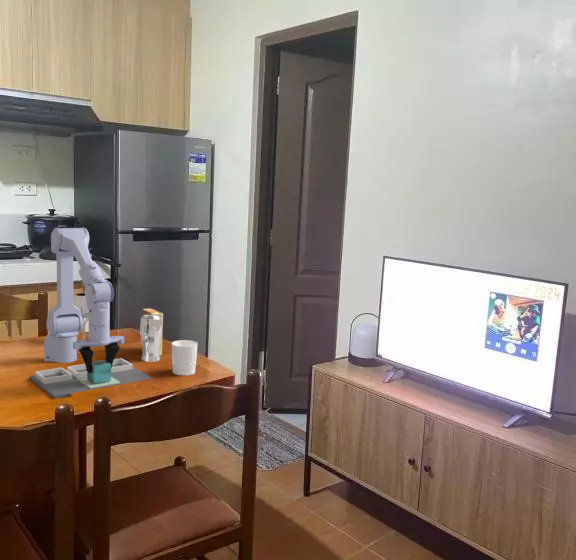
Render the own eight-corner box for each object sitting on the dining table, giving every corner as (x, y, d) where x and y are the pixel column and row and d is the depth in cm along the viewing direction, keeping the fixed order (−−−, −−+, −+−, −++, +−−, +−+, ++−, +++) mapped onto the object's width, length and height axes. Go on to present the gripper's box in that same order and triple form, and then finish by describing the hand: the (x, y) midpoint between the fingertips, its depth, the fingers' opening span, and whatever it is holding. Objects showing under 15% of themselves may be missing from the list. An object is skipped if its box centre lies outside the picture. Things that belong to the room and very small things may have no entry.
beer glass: (156, 365, 197) (156, 320, 194) (136, 363, 198) (136, 318, 196) (164, 359, 204) (165, 315, 201) (145, 357, 205) (145, 314, 203)
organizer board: (29, 378, 178) (29, 370, 178) (122, 363, 197) (122, 356, 197) (54, 398, 163) (54, 390, 163) (152, 380, 182) (152, 373, 181)
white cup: (174, 370, 193) (174, 339, 191) (198, 371, 193) (199, 340, 191) (168, 377, 185) (169, 345, 184) (194, 379, 185) (195, 347, 183)
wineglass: (68, 343, 218) (67, 293, 215) (89, 339, 223) (89, 291, 221) (77, 348, 212) (77, 297, 209) (99, 344, 217) (100, 295, 215)
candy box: (140, 352, 211) (141, 308, 209) (152, 350, 214) (153, 307, 211) (151, 358, 204) (151, 313, 202) (163, 356, 207) (163, 312, 204)
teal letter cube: (87, 379, 176) (87, 362, 175) (103, 376, 179) (103, 359, 178) (94, 383, 172) (94, 366, 171) (111, 380, 175) (110, 363, 175)
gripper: (79, 330, 166) (79, 378, 168) (129, 324, 175) (128, 370, 177) (69, 325, 171) (70, 371, 173) (118, 319, 180) (118, 363, 182)
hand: (99, 370), depth 175 cm, fingers open, 5 cm apart
